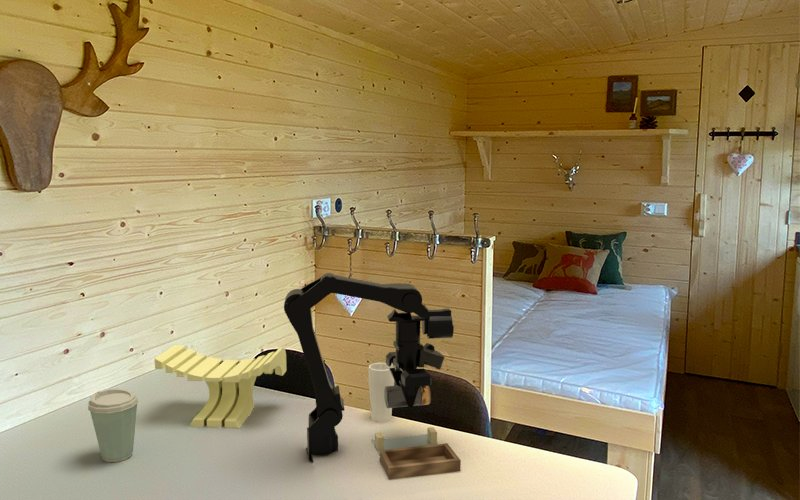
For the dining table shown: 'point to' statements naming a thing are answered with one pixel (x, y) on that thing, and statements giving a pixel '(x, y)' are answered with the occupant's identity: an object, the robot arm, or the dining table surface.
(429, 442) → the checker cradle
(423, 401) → the battery cell
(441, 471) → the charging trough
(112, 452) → the disposable coffee cup
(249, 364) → the slatted curved stool
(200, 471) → the dining table surface
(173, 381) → the dining table surface
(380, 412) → the drinking glass
